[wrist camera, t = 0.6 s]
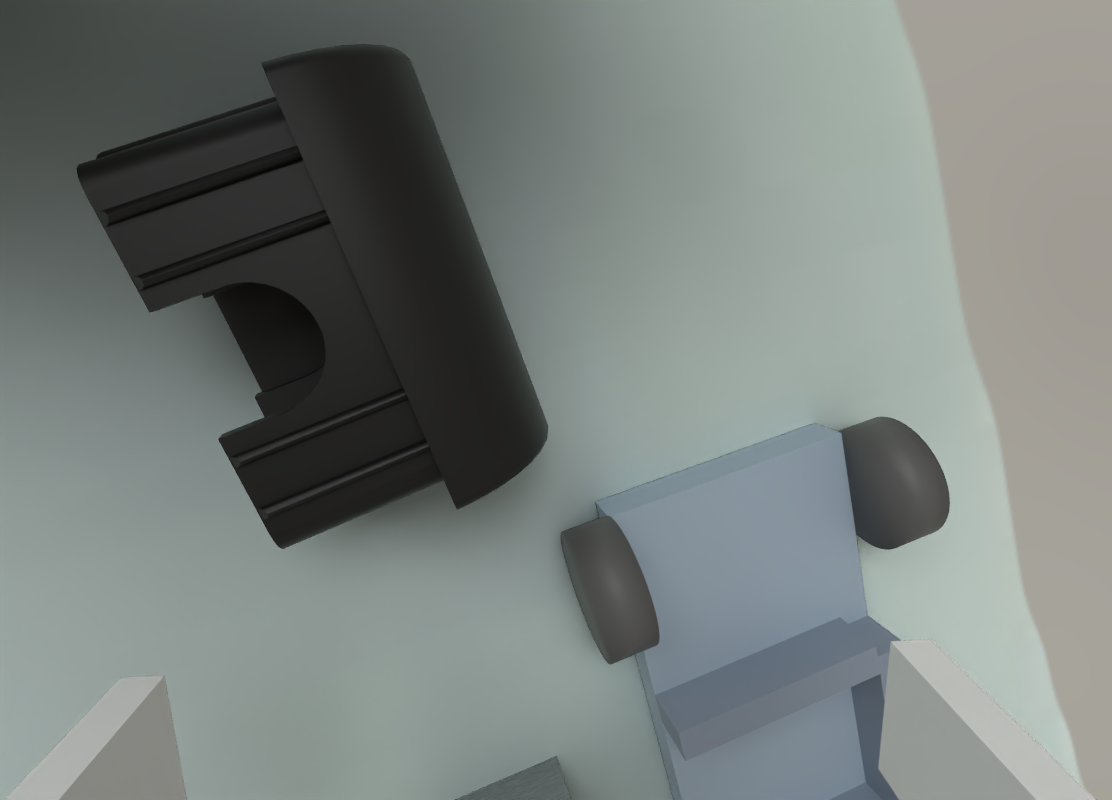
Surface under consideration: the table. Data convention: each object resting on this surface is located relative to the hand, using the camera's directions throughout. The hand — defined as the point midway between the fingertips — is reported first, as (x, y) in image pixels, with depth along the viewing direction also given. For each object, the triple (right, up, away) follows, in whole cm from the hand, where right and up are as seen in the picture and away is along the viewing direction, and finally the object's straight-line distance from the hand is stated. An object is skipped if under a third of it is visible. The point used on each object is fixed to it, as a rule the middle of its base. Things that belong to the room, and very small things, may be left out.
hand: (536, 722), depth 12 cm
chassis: (+9, -8, +15) cm, 19 cm away
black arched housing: (-6, +9, +8) cm, 14 cm away
